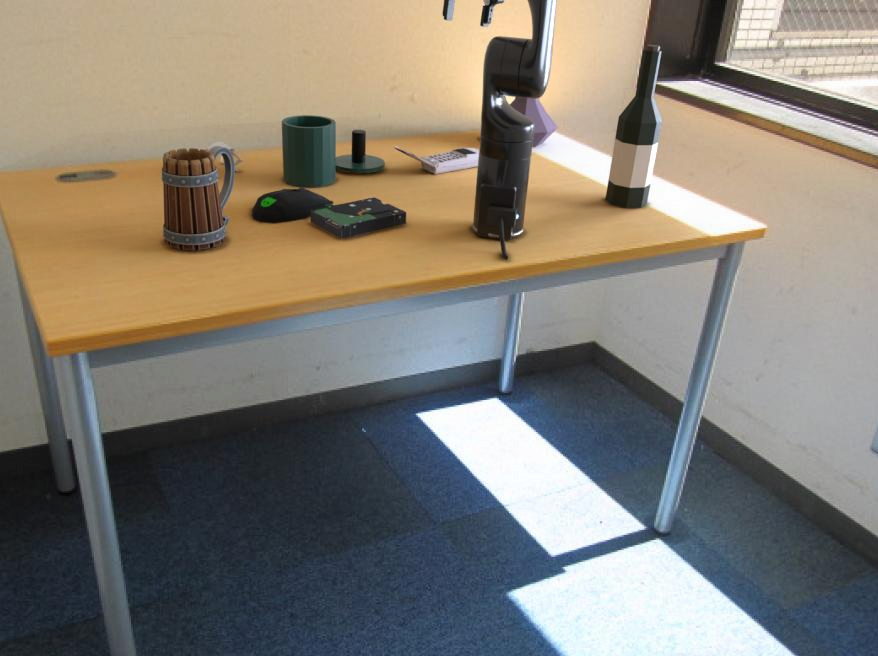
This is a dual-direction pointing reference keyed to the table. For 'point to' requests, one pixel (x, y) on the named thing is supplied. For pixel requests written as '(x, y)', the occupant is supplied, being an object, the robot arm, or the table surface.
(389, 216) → the disk drive
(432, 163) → the mobile phone
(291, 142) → the cylindrical cup
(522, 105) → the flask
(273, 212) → the computer mouse
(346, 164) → the green pot lid
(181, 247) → the mug
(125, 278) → the table surface
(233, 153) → the origami figure
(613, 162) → the wine bottle
